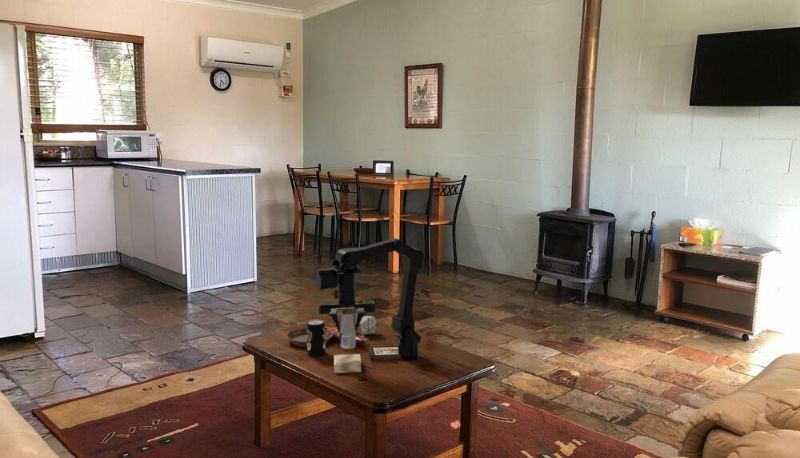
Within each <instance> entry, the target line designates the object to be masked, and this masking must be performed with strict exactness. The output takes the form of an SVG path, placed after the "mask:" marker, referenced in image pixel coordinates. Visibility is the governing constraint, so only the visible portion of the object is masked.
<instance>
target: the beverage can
mask: <svg viewBox="0 0 800 458" xmlns="http://www.w3.org/2000/svg"><path fill="white" fill-rule="evenodd" d="M306 328H307V347H306V348H307V349H306V350H307V351H306V352H307V354H308V355H309V356H311V357H321V356H323V355H324V354H325V353H326V343H325V329H326V325H325V323H324V320H322V319H312V320H311V319H310V320H308V321H307V325H306Z"/></svg>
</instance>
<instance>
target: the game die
mask: <svg viewBox="0 0 800 458" xmlns="http://www.w3.org/2000/svg"><path fill="white" fill-rule="evenodd" d="M375 316H376V314H374V313H373V315H363V317H362V319H361V321H360V323H359V326H358V327H360V330H361V333H362V335H363V336H364V335H374V336H376V331H377V327H379V326H380V323H378V322H377V320H376V318H375ZM362 335H361V336H362Z"/></svg>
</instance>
